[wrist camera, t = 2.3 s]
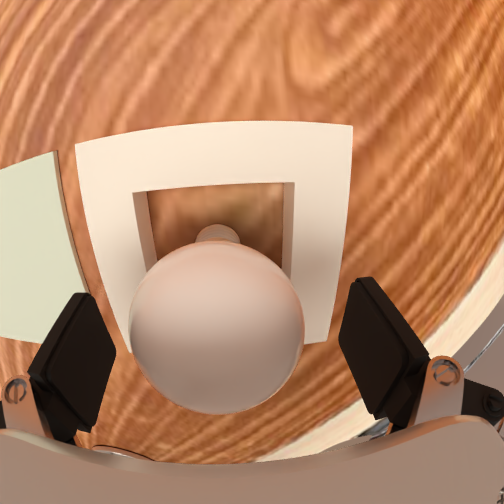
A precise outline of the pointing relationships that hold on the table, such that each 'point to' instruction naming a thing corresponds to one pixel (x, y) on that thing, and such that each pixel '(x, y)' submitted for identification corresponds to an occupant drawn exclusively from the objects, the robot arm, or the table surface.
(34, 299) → the sage mat
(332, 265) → the pocket holder
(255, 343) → the lightbulb
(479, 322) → the table surface
